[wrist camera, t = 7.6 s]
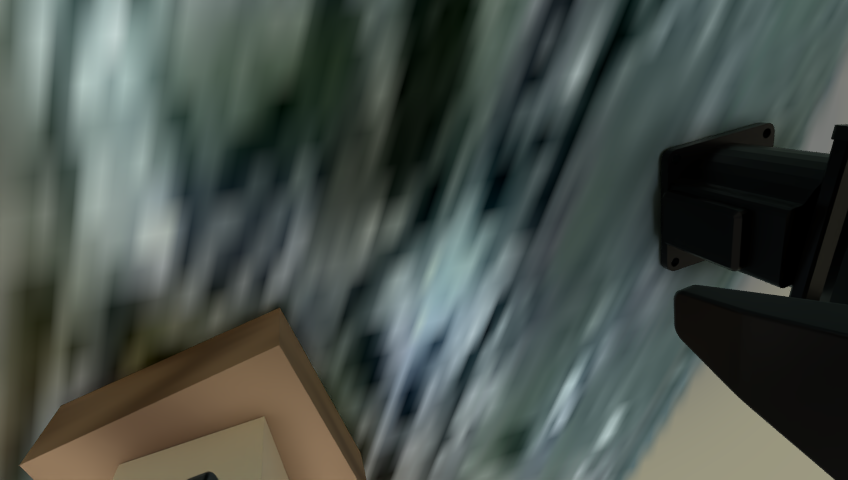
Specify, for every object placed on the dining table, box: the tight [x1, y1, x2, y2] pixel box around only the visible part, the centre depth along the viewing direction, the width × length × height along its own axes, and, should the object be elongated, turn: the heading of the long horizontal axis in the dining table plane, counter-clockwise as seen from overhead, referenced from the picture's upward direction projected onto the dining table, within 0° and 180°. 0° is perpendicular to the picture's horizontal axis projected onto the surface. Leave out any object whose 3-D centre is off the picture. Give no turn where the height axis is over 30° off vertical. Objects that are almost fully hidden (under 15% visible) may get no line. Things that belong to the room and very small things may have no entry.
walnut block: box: [20, 308, 366, 480], centre depth 19 cm, size 9×9×4 cm
